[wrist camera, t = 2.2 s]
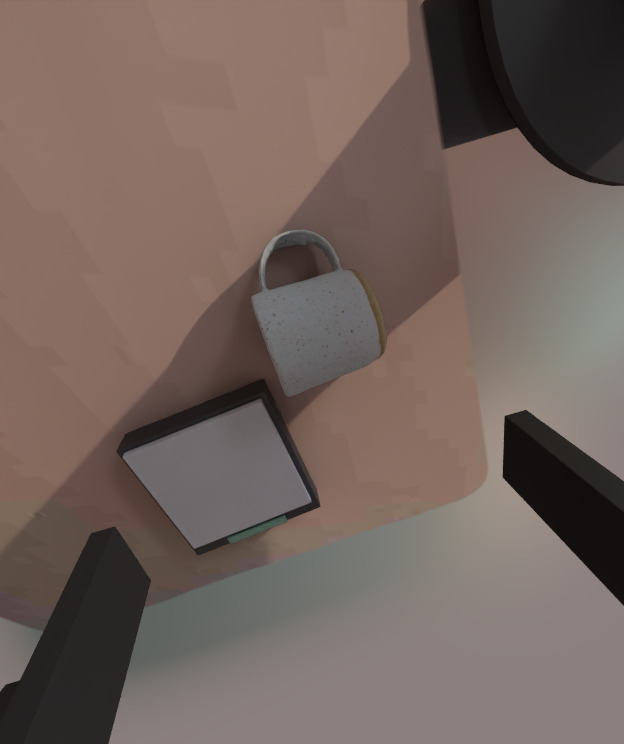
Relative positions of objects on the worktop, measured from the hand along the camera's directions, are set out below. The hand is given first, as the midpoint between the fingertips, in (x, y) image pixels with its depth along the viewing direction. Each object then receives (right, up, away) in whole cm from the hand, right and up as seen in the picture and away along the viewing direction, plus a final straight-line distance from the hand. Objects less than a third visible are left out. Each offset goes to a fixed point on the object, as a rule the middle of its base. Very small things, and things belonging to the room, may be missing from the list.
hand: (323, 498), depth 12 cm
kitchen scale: (-8, -5, +22) cm, 24 cm away
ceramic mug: (-1, +10, +17) cm, 20 cm away
